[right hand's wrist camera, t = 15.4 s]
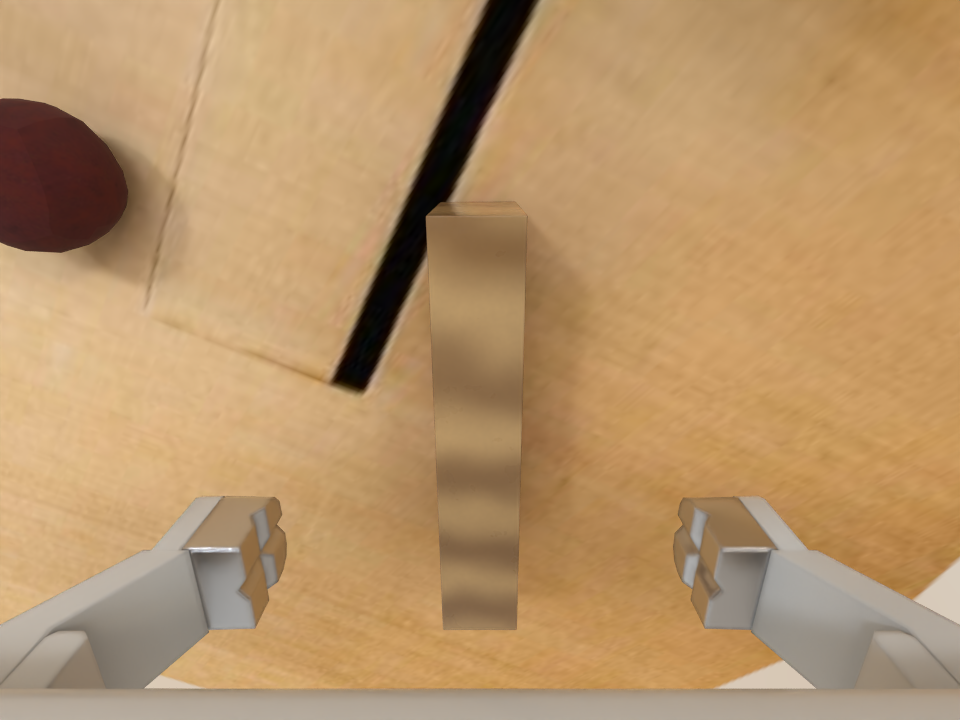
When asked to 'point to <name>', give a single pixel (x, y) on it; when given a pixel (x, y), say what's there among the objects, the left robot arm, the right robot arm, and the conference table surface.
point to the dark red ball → (54, 179)
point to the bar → (478, 405)
